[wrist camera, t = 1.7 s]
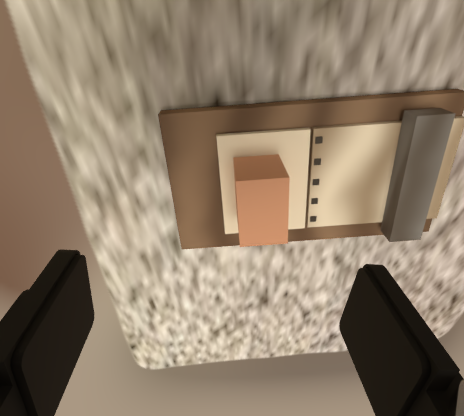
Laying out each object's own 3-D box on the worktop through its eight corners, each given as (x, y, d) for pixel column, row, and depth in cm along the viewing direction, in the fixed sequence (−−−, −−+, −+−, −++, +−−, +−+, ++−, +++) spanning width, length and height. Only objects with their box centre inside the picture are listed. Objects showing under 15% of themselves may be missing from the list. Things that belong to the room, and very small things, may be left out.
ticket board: (457, 88, 28) (491, 97, 24) (420, 223, 35) (443, 246, 31) (161, 110, 28) (152, 122, 24) (183, 241, 35) (179, 265, 31)
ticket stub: (308, 127, 27) (328, 148, 23) (303, 225, 32) (318, 259, 28) (216, 134, 27) (215, 157, 23) (225, 230, 32) (226, 266, 28)
